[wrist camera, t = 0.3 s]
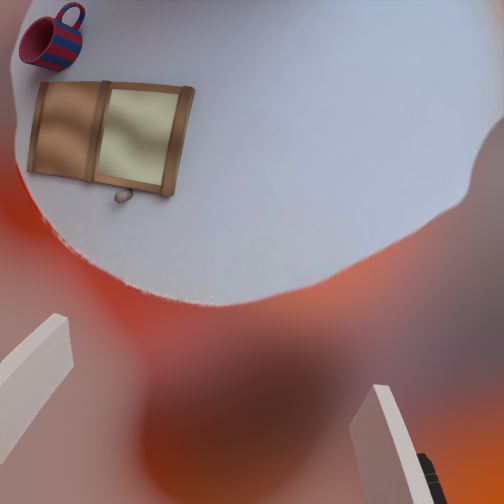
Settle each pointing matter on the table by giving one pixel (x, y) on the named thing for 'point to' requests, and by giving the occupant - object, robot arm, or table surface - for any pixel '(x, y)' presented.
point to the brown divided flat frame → (111, 133)
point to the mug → (52, 41)
